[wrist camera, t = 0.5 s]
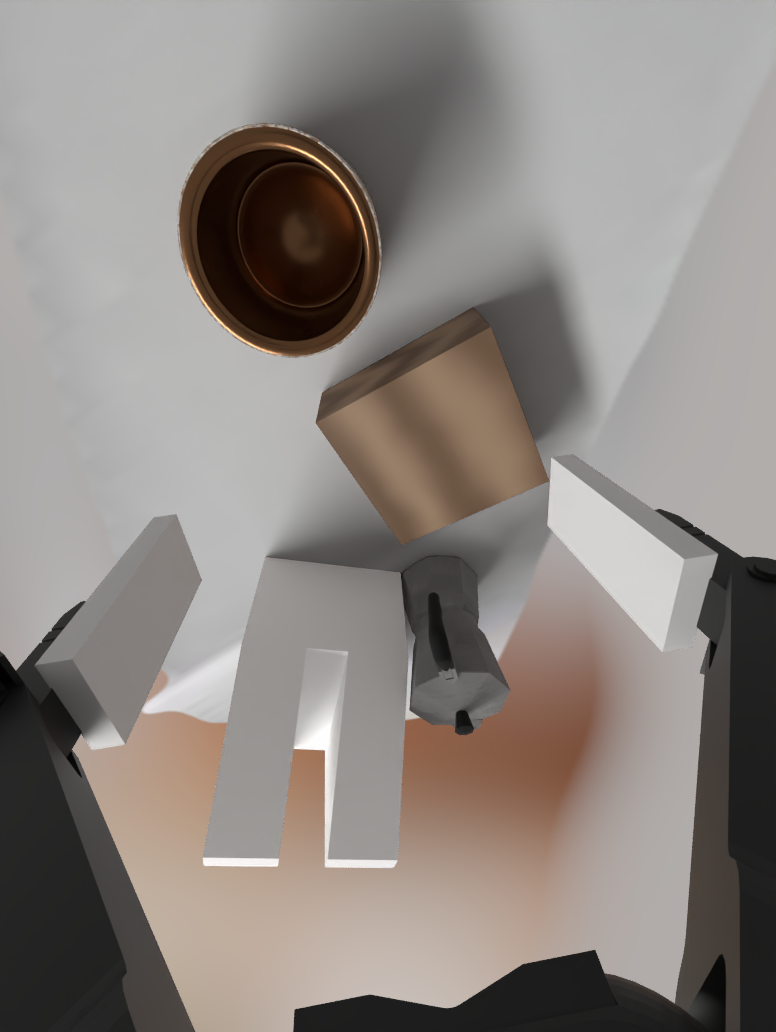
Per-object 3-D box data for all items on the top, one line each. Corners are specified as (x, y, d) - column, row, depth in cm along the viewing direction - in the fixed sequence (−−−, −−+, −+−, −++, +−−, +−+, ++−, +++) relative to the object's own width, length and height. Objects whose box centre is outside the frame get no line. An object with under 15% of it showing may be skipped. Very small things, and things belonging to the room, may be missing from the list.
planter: (188, 210, 30) (127, 218, 22) (316, 93, 27) (296, 55, 19) (292, 348, 35) (272, 393, 28) (407, 266, 32) (420, 290, 25)
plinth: (473, 307, 34) (491, 326, 29) (527, 447, 42) (549, 481, 37) (322, 392, 38) (315, 422, 33) (397, 507, 45) (401, 545, 40)
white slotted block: (265, 556, 49) (196, 813, 29) (400, 571, 51) (423, 819, 31) (260, 659, 60) (208, 896, 40) (371, 668, 62) (374, 896, 42)
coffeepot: (485, 608, 55) (527, 756, 41) (413, 625, 57) (430, 774, 42) (462, 516, 46) (505, 664, 32) (377, 538, 48) (382, 690, 33)
